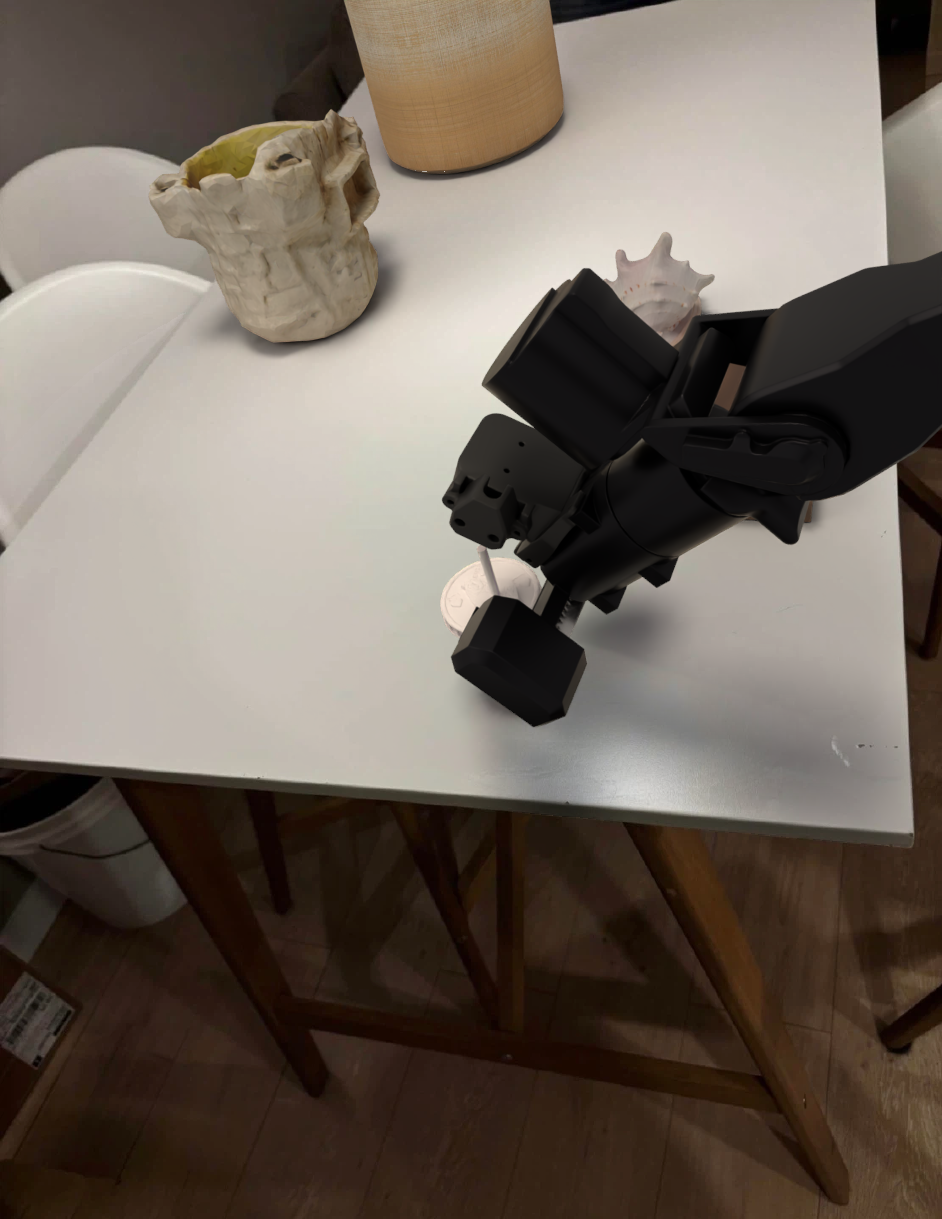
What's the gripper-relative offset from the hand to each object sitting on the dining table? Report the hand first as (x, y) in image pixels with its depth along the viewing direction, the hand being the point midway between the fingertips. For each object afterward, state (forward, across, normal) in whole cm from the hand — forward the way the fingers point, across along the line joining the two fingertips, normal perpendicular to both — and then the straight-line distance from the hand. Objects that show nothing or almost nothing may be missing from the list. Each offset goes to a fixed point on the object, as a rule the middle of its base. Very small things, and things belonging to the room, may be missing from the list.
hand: (492, 608), depth 56 cm
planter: (+35, -86, -23) cm, 95 cm away
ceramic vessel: (+36, -45, -24) cm, 63 cm away
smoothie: (+6, 0, +6) cm, 8 cm away
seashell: (+7, -42, +5) cm, 43 cm away
